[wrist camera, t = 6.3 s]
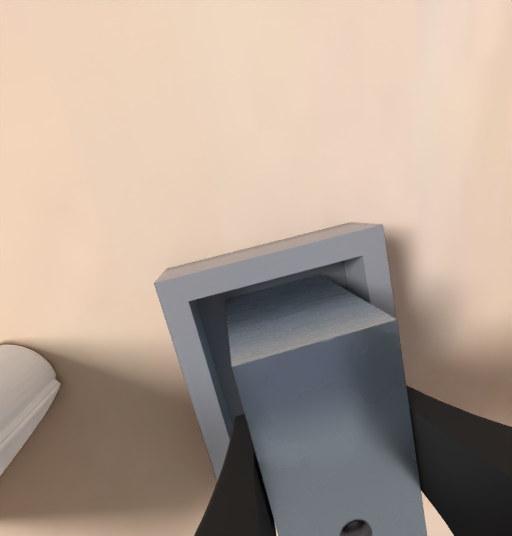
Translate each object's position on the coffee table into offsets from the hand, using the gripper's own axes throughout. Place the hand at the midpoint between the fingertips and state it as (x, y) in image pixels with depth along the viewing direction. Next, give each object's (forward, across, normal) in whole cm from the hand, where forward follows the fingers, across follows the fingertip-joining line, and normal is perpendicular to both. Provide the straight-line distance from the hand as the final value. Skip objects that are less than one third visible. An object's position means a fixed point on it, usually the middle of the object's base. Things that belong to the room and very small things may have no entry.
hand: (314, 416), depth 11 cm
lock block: (+3, 0, 0) cm, 3 cm away
